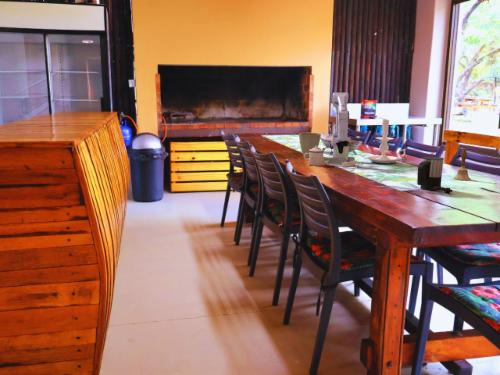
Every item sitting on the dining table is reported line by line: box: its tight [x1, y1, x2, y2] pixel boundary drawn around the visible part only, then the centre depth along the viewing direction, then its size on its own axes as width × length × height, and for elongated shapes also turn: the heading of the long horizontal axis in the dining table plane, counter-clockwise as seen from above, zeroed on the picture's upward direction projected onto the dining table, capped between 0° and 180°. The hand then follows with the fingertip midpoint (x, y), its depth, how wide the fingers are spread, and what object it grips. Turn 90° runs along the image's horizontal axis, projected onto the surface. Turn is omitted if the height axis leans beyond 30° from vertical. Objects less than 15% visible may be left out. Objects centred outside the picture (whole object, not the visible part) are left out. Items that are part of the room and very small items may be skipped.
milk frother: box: [416, 156, 454, 194], centre depth 209 cm, size 14×16×15 cm
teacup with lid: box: [303, 146, 325, 167], centre depth 281 cm, size 12×9×12 cm
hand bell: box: [452, 148, 472, 182], centre depth 236 cm, size 8×8×16 cm
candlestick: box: [366, 118, 407, 164], centre depth 289 cm, size 21×25×28 cm
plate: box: [336, 146, 350, 160], centre depth 281 cm, size 2×8×8 cm, turn 44°
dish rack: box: [325, 156, 358, 168], centre depth 282 cm, size 14×12×4 cm
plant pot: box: [298, 132, 322, 159], centre depth 313 cm, size 15×15×16 cm
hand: (341, 153), depth 281 cm, fingers closed on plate, 2 cm apart
